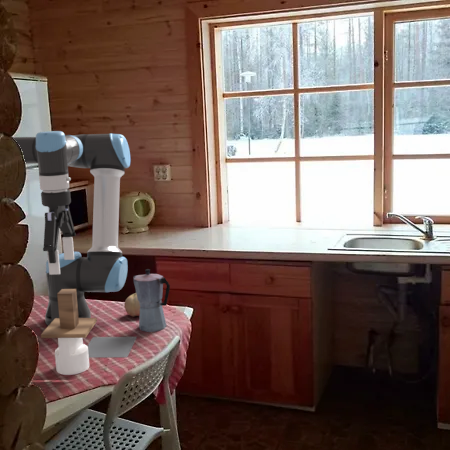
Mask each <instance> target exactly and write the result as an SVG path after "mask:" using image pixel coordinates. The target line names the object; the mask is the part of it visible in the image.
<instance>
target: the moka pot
mask: <svg viewBox="0 0 450 450" xmlns="http://www.w3.org/2000/svg"><path fill="white" fill-rule="evenodd" d="M150 272H151V269H149V268H147V269H145V274H138V275H133V277H132V278H133V284H134V288H135V293H136V294H137V298H138V301H139V304H140V316H138V317H139V321H138V325H139V326H138V328H139V330H140V331H142V332H148V333H151V332H153V333H155V332H159V331H162V330H165V329H166V327H167V322H166V318H165V313H164V308H163V306H164V307H165V306H167V305H168V304H167V303H168V299H169V294H170V290H171V289H170V287H171V285H170V283H169V281H167V279H166V277H164V275H161V274H158V273H150ZM164 284H165V286H166V287H165V288H166V289H165V294H164V301H162V299H163V290H164V289H163V288H164Z"/></svg>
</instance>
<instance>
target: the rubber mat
mask: <svg viewBox="0 0 450 450" xmlns="http://www.w3.org/2000/svg"><path fill="white" fill-rule="evenodd" d="M137 338H138V336H93V337H92V338H91V340H90V341H89V343H88V344H87V346H88V354H89V359H90V358H91V359H92V358H129V357H128V356H129V355H130V353H131V351H132V348H133V346H134V344H135V342H136V340H137Z"/></svg>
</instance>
